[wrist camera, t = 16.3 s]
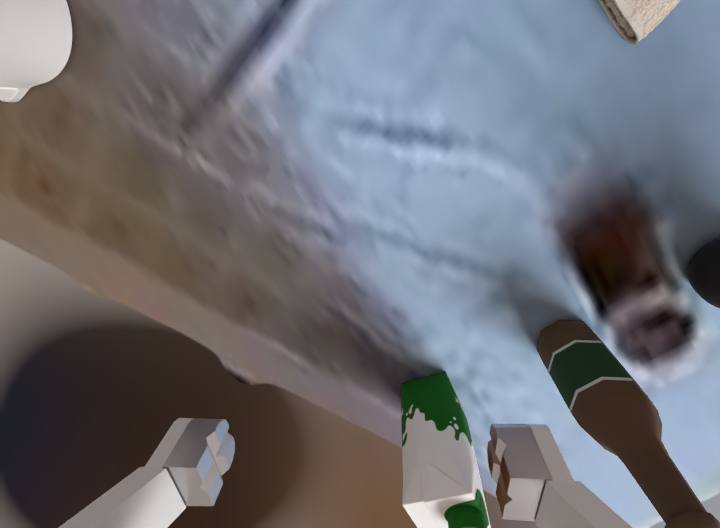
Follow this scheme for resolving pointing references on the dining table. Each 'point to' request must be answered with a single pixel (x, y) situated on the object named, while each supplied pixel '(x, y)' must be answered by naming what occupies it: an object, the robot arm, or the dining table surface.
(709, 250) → the cola bottle
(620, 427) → the beer bottle
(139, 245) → the dining table surface
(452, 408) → the milk carton
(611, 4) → the washcloth
